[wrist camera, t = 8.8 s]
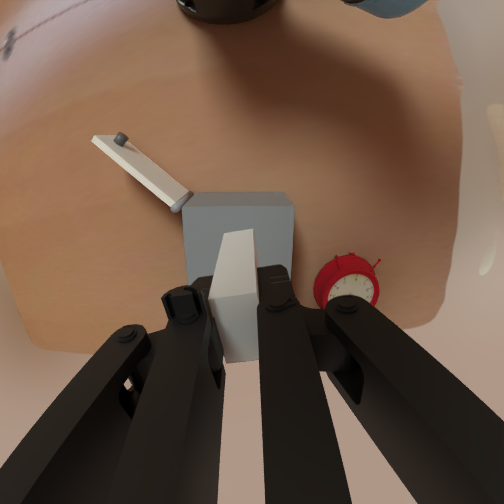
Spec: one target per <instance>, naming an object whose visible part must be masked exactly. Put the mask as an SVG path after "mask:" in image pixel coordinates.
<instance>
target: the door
mask: <svg viewBox="0 0 504 504" xmlns="http://www.w3.org/2000/svg"><path fill="white" fill-rule="evenodd" d="M128 139H129V138H128V137H127V136H126V135H125V134H123V133H121V132H119V133H118V134H117V135H94V137H93V139H92V140H91V141H92V142H93V143H94V144H95V145H97V146H98V147H99V148H100V149H101V150H102V151H104V152H105V153H106V154H107V155H108V156H110V157H111V158H112V159H113V160H114V161H116V162H117V163H118V164H119V165H120V166H121V167H123V168H124V169H125V170H126V171H127V172H129V173H130V174H131V175H132V176H133V177H135V178H136V179H137V180H138V181H139V182H141V183H142V184H143V185H144V186H145V187H147V188H148V189H149V190H150V191H151V192H153V193H154V194H155V195H156V196H158V197H159V198H160V199H161V200H162V201H164V202H165V203H166V204H167V205H168V206H170V207H171V211H172V212H173V213H178V212H179V211H180V210H181V209H182V206H183V205H184V204H185V203H186V202H187V201H188V200H189V199H190V198H191V197H192V196H193V195H194V194H193V192H191V191H188V190H187V189H186V188H184V187H183V186H182V185H181V184H180V183H178V182H177V181H176V180H175V179H173V178H172V177H171V176H170V175H169V174H167V173H166V172H165V171H164V170H162V169H161V168H160V167H159V166H158V165H156V164H155V163H154V162H153V161H152V160H150V159H149V158H148V157H147V156H145V155H144V154H143V153H142V152H140V151H139V150H138V149H137V148H136V147H134V146H133V145H132V144H131V143H129V142H128V141H127V140H128Z"/></svg>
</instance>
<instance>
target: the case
mask: <svg viewBox="0 0 504 504" xmlns="http://www.w3.org/2000/svg"><path fill="white" fill-rule="evenodd" d="M294 208H295V207H294V205H293V204H292V202H291V201H290V200H289V198H288V197H287V195H286V194H285V193H284V192H202V193H195V194H194V195H193V196H192V197H191V198H190V199H189V200H188V201H187V202H186V203H185V204H184V205H183V206H182V221H183V235H184V247H185V259H186V270H187V280H188V285H191V284H192V283H193V282H194V281H195V280H196V279H197V278H198V277H204V276H211V275H214V272H215V267H216V263H217V259H218V255H219V251H220V247H221V243H222V239H223V235H224V233H229V232H235V231H241V230H247V229H253V232H254V238H255V244H256V250H257V256H258V262H259V267H265V266H271V265H277V264H281V265H283V266H284V267H285V268H287V271H288V274H289V278H290V279H291V264H292V248H293V229H294Z"/></svg>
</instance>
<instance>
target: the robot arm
mask: <svg viewBox="0 0 504 504" xmlns="http://www.w3.org/2000/svg"><path fill="white" fill-rule="evenodd" d="M176 1H177V3H178V5H179V6H180V8H181V9H182V10H183V11H184V12H185V13H186V14H188V15H189V16H191V17H193V18H195V19H197V20H200V21H203V22H207V23H213V24H233V23H239V22H243V21H247V20H250V19H253V18H255V17H257V16H259V15H261V14H263V13H264V12H266V11H267V10H268V9H270V8H271V7H272V6H273V4H274V3H275V2H276V0H176ZM341 1H343V2H344V3H345V4H347V5H349V6H355V7H358V8H360V9H362V10H364V11H366V12H368V13H370V14H372V15H374V16H377V17H380V18H385V19H387V18H397V17H401V16H404V15H406V14H408V13H410V12H412V11H414V10H415V9H417V8H418V7H420V6H421V5H423V4H424V3H425V2H426V1H427V0H341ZM161 299H162V302H163V305H164V308H165V311H166V314H167V316H168V319H169V320H168V323H167V326H166V328H165V329H163V330H160V331H157V332H153V333H150V334H147V331H146V329H145V328H144V327H143V326H142V325H138V324H133V325H126V326H123V327H122V328H120V329H118V330H117V331H116V332H114V333H113V334H112V335H111V336H110V337H109V339H108V340H107V341H106V342H105V343H104V344H103V345H102V346H101V347H100V348H99V350H98V351H97V352H96V353H95V354H94V355H93V356H92V357H91V359H90V360H89V361H88V362H87V363H86V364H85V365H84V366H83V368H82V369H81V370H80V371H79V372H78V373H77V374H76V375H75V377H74V378H73V379H72V380H71V381H70V382H69V384H68V385H67V386H66V387H65V388H64V390H63V391H62V392H61V393H60V394H59V395H58V396H57V398H56V399H55V400H54V401H53V402H52V404H51V405H50V406H49V407H48V409H47V410H46V411H45V412H44V413H43V414H42V416H41V417H40V418H39V420H38V421H37V422H36V423H35V424H34V426H33V427H32V428H31V429H30V431H29V432H28V433H27V434H26V436H25V437H24V438H23V439H22V441H21V442H20V443H19V445H18V446H17V447H16V449H15V450H14V451H13V452H12V454H11V455H10V456H9V458H8V459H7V461H6V462H5V463H4V464H3V466H2V467H1V468H0V504H217V498H218V480H219V463H220V446H221V432H222V417H223V402H224V388H225V375H226V373H225V369H224V366H223V354H224V357H225V361H226V363H236V362H245V361H252V360H259V370H260V391H261V392H260V393H261V415H262V437H263V458H264V459H263V460H264V483H265V504H352V501H351V497H350V492H349V488H348V483H347V479H346V475H345V471H344V467H343V462H342V458H341V454H340V450H339V446H338V441H337V438H336V434H335V429H334V426H333V422H332V418H331V414H330V410H329V406H328V402H327V399H326V395H325V391H324V388H323V384H322V380H321V376H320V373H319V371H325V372H326V373H327V375H328V377H329V379H330V380H331V382H332V383H333V384H334V386H335V387H336V389H337V390H338V392H339V393H340V394H341V396H342V397H343V399H344V400H345V402H346V403H347V404H348V406H349V407H350V409H351V410H352V412H353V413H354V415H355V416H356V417H357V419H358V420H359V422H360V423H361V424H362V426H363V427H364V429H365V430H366V432H367V433H368V434H369V436H370V437H371V439H372V440H373V441H374V443H375V444H376V446H377V447H378V449H379V450H380V451H381V453H382V454H383V456H384V457H385V458H386V460H387V461H388V463H389V464H390V466H391V467H392V468H393V470H394V471H395V472H396V474H397V475H398V477H399V478H400V480H401V481H402V482H403V484H404V485H405V487H406V488H407V489H408V491H409V492H410V494H411V495H412V496H413V498H414V499H415V501H416V502H417V503H418V504H504V421H503V420H502V419H501V418H500V417H499V416H497V415H496V414H495V413H494V412H493V411H492V410H491V409H490V408H489V407H488V406H487V405H486V404H485V403H484V402H483V401H482V400H480V399H479V398H478V397H477V396H476V395H475V394H474V393H473V392H472V391H471V390H469V388H468V387H466V386H465V385H464V384H463V383H462V382H461V381H460V380H459V379H458V378H456V377H455V376H454V375H453V374H452V373H451V372H450V371H449V370H447V369H446V368H445V367H444V366H443V365H442V364H441V363H440V362H438V361H437V360H436V359H435V358H434V357H433V356H432V355H430V354H429V353H428V352H427V351H426V350H425V349H424V348H422V347H421V346H420V345H419V344H418V343H416V342H415V341H414V340H413V339H412V338H411V337H410V336H408V335H407V334H406V333H405V332H404V331H403V330H401V329H400V328H399V327H398V326H397V325H395V324H394V323H393V322H392V321H391V320H389V319H388V318H387V317H386V316H385V315H383V314H382V313H381V312H380V311H379V310H377V309H376V308H375V307H374V306H373V305H371V304H370V303H369V302H368V301H366V300H365V299H363V298H361V297H360V296H355V295H341V296H337V297H334V298H332V299H330V300H329V301H328V302H327V303H326V306H325V309H312V308H307V307H304V306H302V305H300V303H299V301H298V300H297V298H295V295H294V291H293V288H292V284H291V281H290V278H289V274H288V271H287V268H285V267H284V266H283V265H281V264H277V265H271V266H265V267H259V262H258V256H257V250H256V244H255V238H254V232H253V229H247V230H241V231H235V232H229V233H224V235H223V239H222V243H221V247H220V251H219V255H218V259H217V263H216V267H215V272H214V275H211V276H204V277H198V278H197V279H196V280H195V281H194V282H193V283H192V284H191V285H185V286H181V287H177V288H174V289H172V290H170V291H168V292H167V293H165V294H164V295H163V296H162V298H161ZM127 379H129V380H130V382H131V384H132V386H131V388H129V389H128V390H127V389H126V388H125V386H124V383H125V381H126V380H127Z"/></svg>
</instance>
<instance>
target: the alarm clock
mask: <svg viewBox="0 0 504 504" xmlns="http://www.w3.org/2000/svg"><path fill="white" fill-rule="evenodd" d="M354 255H355V253H349V255H346V256H341V257H338V256H337V255H336V256H335V258H336V259H334V260H332V261H330V262H329V263H327V264H326V265H325V266H324V267H323V268H322V269H321V270H320V272H319V273H318V275H317V277H316V279H315V282H314V296H315V299H316V302H317V303H318V305H319V306H320V307H321V308H322V309H325V306H326V303H327V302H328V301H329V300H330V299H332V298H334V297H337V296H341V295H355V296H360V297H361V298H363V299H365V300H366V301H368V302H369V303H370V304H371V305H373V306H375V304H376V302H377V300H378V297H379V284H378V280H377V278H376V277H375V273H374V270H373V269H374V268H375V267H376V265H377V264H378V263H379V262H380V261H381V259H378V262H377V263H376V264H375V265H374V266H373V267H372V266H371V265H370V264H369V263H368V262H367V261H366V260H365V259H363V258H361V257H358V256H354Z"/></svg>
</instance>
